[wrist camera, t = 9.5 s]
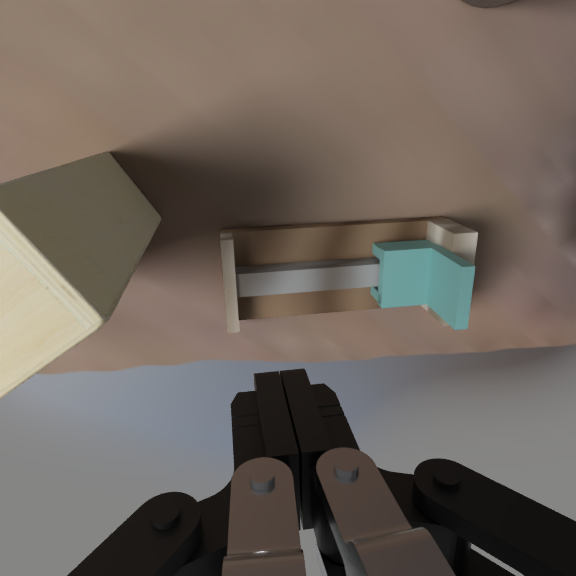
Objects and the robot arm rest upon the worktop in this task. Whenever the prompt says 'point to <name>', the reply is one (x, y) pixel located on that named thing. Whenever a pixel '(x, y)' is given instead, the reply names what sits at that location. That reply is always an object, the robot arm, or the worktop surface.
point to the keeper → (424, 279)
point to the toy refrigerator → (65, 258)
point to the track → (317, 250)
